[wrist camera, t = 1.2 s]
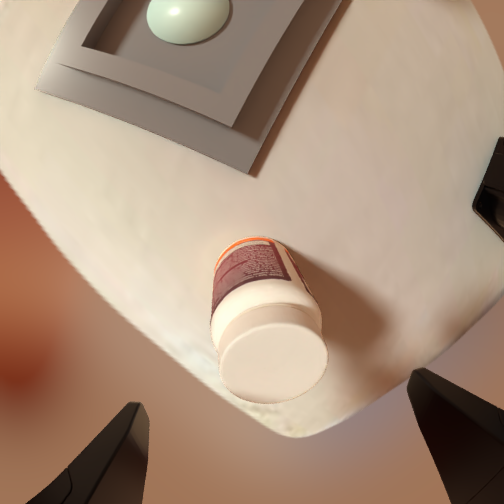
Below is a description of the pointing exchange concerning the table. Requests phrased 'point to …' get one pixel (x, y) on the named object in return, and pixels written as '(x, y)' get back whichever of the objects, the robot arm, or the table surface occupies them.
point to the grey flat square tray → (188, 66)
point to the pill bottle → (265, 323)
